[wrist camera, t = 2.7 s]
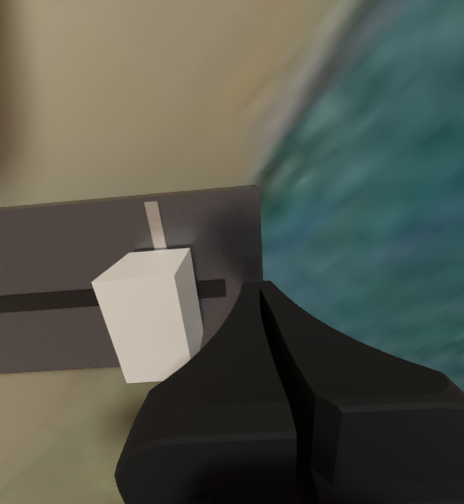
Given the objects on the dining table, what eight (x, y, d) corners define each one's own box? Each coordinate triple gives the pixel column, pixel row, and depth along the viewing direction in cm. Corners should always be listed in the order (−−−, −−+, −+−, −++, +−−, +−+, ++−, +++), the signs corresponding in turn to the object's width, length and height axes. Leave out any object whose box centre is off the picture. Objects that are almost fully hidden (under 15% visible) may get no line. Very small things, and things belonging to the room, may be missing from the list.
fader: (203, 331, 12) (194, 379, 9) (151, 334, 12) (126, 383, 9) (189, 247, 10) (174, 276, 8) (129, 252, 11) (91, 282, 8)
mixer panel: (261, 333, 15) (266, 358, 13) (-65, 355, 16) (-107, 381, 14) (255, 184, 12) (259, 187, 10) (-163, 221, 12) (-238, 231, 10)
